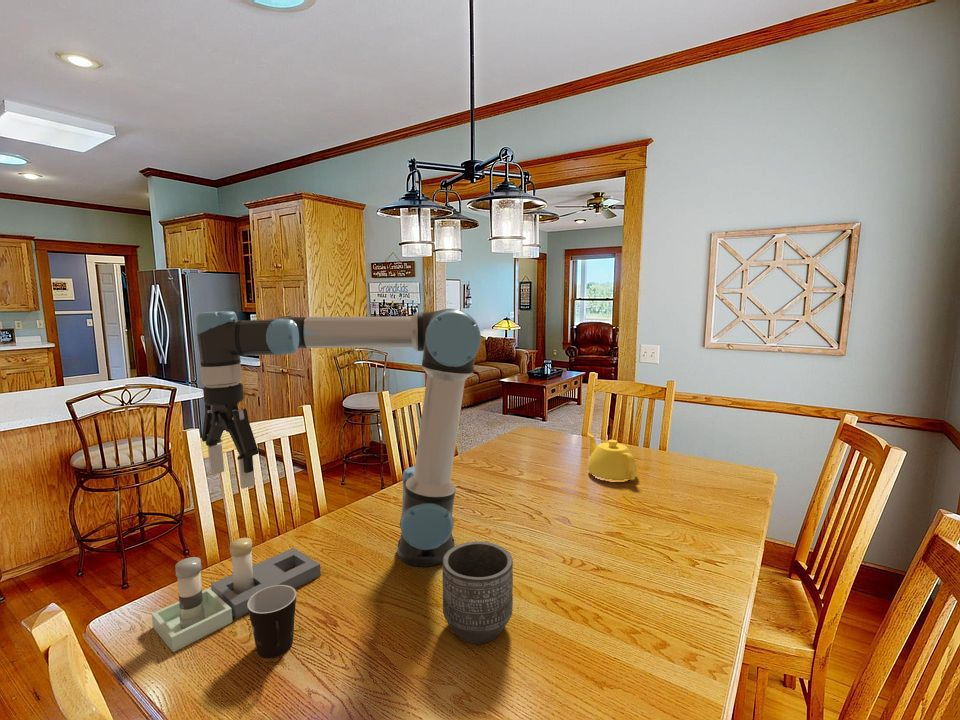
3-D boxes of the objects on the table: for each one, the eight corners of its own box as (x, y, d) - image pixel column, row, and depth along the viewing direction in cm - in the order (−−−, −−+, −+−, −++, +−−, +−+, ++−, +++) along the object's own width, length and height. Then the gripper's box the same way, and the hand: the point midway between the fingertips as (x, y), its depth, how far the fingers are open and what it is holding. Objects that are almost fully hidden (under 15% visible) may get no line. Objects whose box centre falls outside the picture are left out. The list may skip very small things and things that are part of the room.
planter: (457, 661, 89) (457, 587, 87) (433, 615, 101) (432, 549, 99) (524, 639, 94) (526, 569, 92) (494, 598, 107) (494, 535, 105)
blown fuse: (208, 620, 99) (204, 562, 97) (185, 632, 95) (180, 571, 94) (199, 612, 101) (195, 554, 100) (176, 623, 98) (171, 563, 96)
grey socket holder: (320, 575, 116) (318, 524, 114) (236, 618, 100) (232, 560, 99) (294, 558, 123) (291, 510, 121) (211, 596, 108) (207, 542, 106)
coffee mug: (260, 631, 96) (257, 586, 95) (304, 629, 97) (301, 583, 96) (236, 677, 85) (232, 626, 83) (286, 674, 86) (283, 623, 84)
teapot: (569, 468, 188) (570, 434, 186) (603, 460, 197) (604, 428, 195) (616, 490, 166) (617, 453, 165) (651, 481, 175) (653, 445, 173)
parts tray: (232, 622, 99) (231, 608, 99) (173, 652, 91) (171, 637, 90) (210, 600, 106) (209, 587, 106) (152, 627, 98) (151, 613, 97)
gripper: (271, 387, 97) (279, 486, 100) (213, 376, 112) (222, 463, 115) (234, 393, 91) (243, 498, 94) (178, 381, 106) (188, 472, 109)
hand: (232, 479), depth 105 cm, fingers open, 13 cm apart
